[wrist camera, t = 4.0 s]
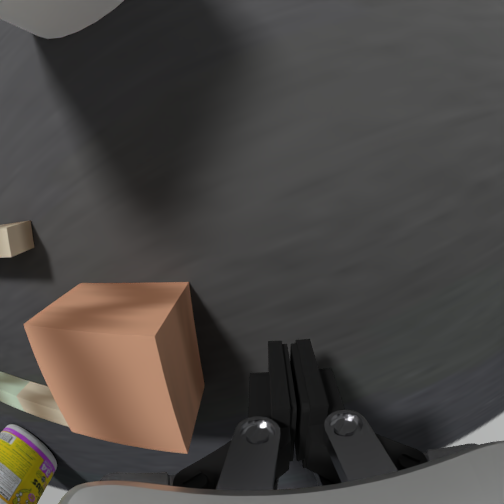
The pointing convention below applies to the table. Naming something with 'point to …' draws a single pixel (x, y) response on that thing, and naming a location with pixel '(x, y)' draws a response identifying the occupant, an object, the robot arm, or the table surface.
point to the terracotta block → (123, 362)
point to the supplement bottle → (23, 466)
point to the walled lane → (10, 387)
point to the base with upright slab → (55, 15)
